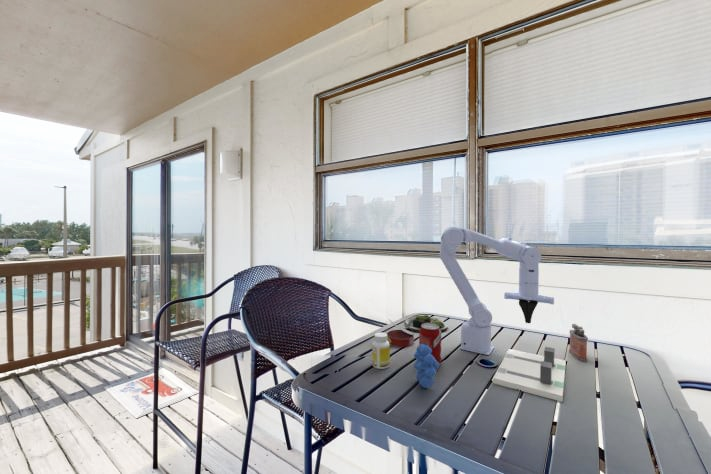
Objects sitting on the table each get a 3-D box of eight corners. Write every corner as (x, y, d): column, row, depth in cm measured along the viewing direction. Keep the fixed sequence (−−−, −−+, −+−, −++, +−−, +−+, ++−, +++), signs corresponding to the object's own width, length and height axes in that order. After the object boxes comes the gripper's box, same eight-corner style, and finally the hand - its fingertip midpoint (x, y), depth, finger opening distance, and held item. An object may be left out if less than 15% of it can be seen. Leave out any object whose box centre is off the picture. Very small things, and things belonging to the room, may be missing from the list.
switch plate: (493, 383, 87) (493, 377, 87) (508, 353, 107) (508, 348, 107) (562, 401, 78) (562, 395, 78) (565, 365, 98) (565, 360, 97)
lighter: (590, 362, 100) (590, 330, 99) (578, 361, 100) (578, 330, 100) (577, 351, 108) (578, 322, 107) (566, 351, 108) (567, 322, 108)
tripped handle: (540, 382, 84) (540, 365, 84) (541, 376, 87) (541, 360, 87) (550, 384, 83) (551, 368, 83) (551, 378, 86) (552, 363, 86)
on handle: (544, 365, 94) (544, 350, 94) (545, 360, 97) (545, 346, 97) (553, 367, 93) (553, 352, 93) (554, 362, 96) (554, 348, 95)
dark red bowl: (391, 349, 122) (392, 323, 127) (417, 351, 118) (417, 323, 122) (381, 345, 113) (382, 317, 118) (408, 346, 109) (409, 317, 113)
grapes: (448, 397, 80) (449, 351, 80) (423, 400, 79) (423, 353, 79) (431, 375, 92) (431, 335, 91) (409, 377, 91) (409, 336, 90)
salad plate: (399, 319, 146) (399, 309, 146) (438, 318, 146) (438, 309, 146) (407, 334, 127) (407, 322, 126) (451, 333, 127) (451, 322, 127)
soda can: (428, 370, 95) (428, 330, 95) (414, 361, 101) (414, 324, 101) (445, 365, 98) (446, 327, 98) (431, 357, 104) (431, 321, 104)
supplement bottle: (392, 363, 100) (391, 332, 99) (386, 370, 95) (386, 338, 94) (375, 360, 102) (375, 330, 102) (369, 367, 97) (369, 336, 97)
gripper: (502, 282, 107) (502, 321, 108) (553, 286, 99) (552, 329, 99) (506, 278, 113) (506, 316, 113) (554, 282, 104) (554, 323, 105)
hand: (528, 322), depth 107 cm, fingers closed
